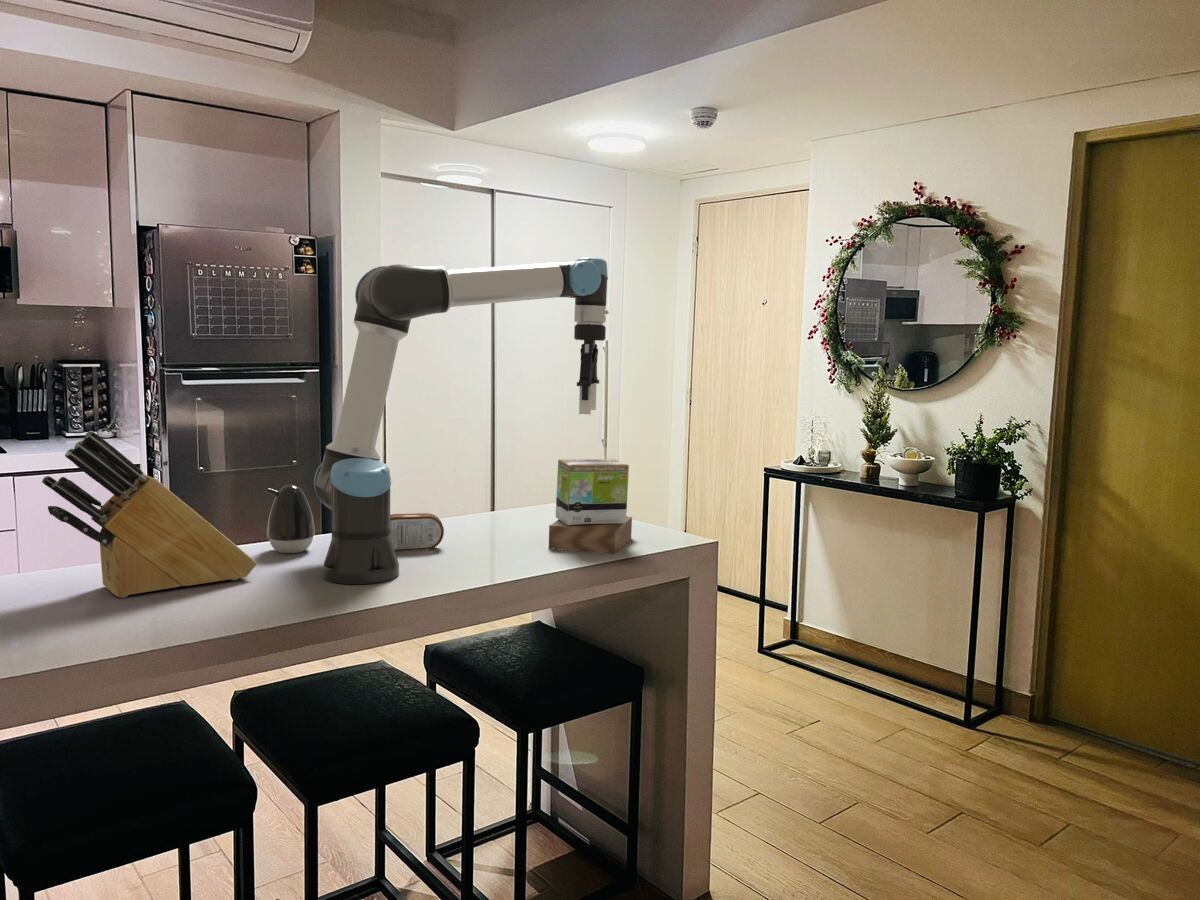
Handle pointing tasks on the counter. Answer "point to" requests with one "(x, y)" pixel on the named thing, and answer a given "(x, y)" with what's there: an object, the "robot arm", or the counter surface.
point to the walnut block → (590, 536)
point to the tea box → (591, 491)
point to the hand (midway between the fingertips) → (587, 412)
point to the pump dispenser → (290, 520)
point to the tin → (415, 531)
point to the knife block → (144, 527)
